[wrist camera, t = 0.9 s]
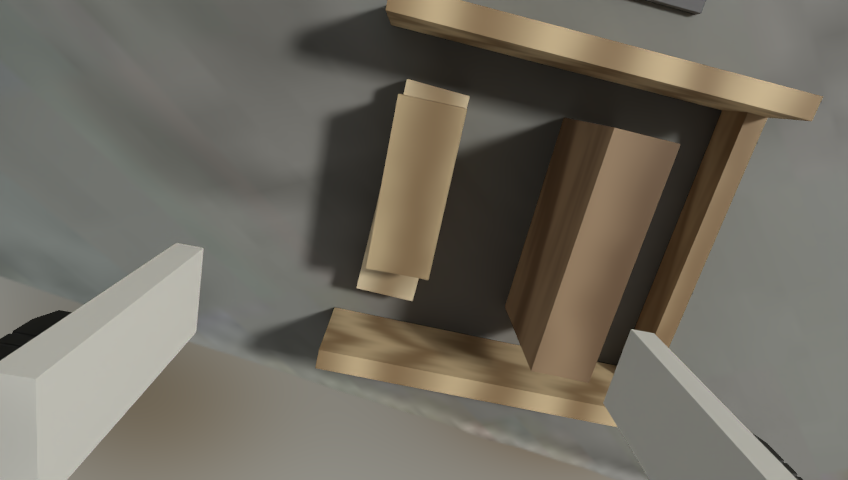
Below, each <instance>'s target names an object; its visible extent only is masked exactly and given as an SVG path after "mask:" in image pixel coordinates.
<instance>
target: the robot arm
mask: <svg viewBox="0 0 848 480" xmlns="http://www.w3.org/2000/svg"><path fill="white" fill-rule="evenodd" d="M202 260H203V248H201V247H196V246H190V245H185V244H180V243H176V244H174V245H173V246H171V247H170V248H168V249H167V250H165V251H164V252H162V253H161V254H159V255H158V256H156V257H155V258H153V259H152V260H150V261H149V262H147V263H146V264H144V265H143V266H141V267H140V268H138V269H137V270H135V271H134V272H132V273H131V274H129V275H128V276H126V277H125V278H123V279H122V280H120V281H119V282H117V283H116V284H114V285H113V286H111V287H110V288H108V289H107V290H105V291H104V292H102V293H101V294H99V295H98V296H96V297H95V298H93V299H92V300H90V301H89V302H87V303H86V304H84V305H83V306H81V307H80V308H78V309H77V310H75V311H74V312H66V311H60V310H58V311H55V312H52V313H50V314H47V315H43V316H40V317H37V318H35V319H32V320H30V321H29V322H27V323H25V324H24V325H22V326H21V327H19V328H17V329H16V330H14V331H13V333H12V334H8V335H6V336H4V337H3V338H1V339H0V480H67V479H68V478H69V477H70V476H71V474H72V473H73V472H74V471H75V470H76V469H77V468H78V467H79V465H80V464H81V463H82V462H83V461H84V460H85V458H86V457H87V456H88V455H89V454H90V453H91V452H92V451H93V449H94V448H95V447H96V446H97V445H98V444H99V443H100V441H101V440H102V439H103V438H104V437H105V436H106V435H107V433H108V432H109V431H110V430H111V429H112V428H113V426H114V425H115V424H116V423H117V422H118V421H119V420H120V419H121V417H122V416H123V415H124V414H125V413H126V412H127V410H128V409H129V408H130V407H131V406H132V405H133V404H134V403H135V401H136V400H137V399H138V398H139V397H140V396H141V395H142V393H143V392H144V391H145V390H146V389H147V388H148V387H149V385H150V384H151V383H152V382H153V381H154V380H155V378H156V377H157V376H158V375H159V374H160V372H162V371H163V369H164V368H165V367H166V366H167V365H168V363H169V362H170V361H171V360H172V359H173V358H174V357H175V356H176V354H177V353H178V352H179V351H180V350H181V349H182V347H183V346H184V345H185V344H186V343H187V342H188V341H189V340H190V339H191V337H192V336H193V335H194V334H195V333H196V329H197V317H198V306H199V294H200V283H201V271H202ZM603 404H604V405H605V407H606V409H607V410H608V412H609V414H610V415H611V417H612V419H613V420H614V422H615V424H616V425H617V427H618V429H619V430H620V432H621V434H622V435H623V437H624V438H625V440H626V442H627V443H628V445H629V447H630V448H631V450H632V452H633V453H634V455H635V457H636V458H637V460H638V462H639V463H640V465H641V467H642V468H643V470H644V472H645V473H646V475H647V477H648V478H649V480H803V479H802V478H801V477H797V473H796V472H795V471H794V470H793V469H792V468H791V467H790V466H789V465H788V464H787V463H784V460H783V459H782V458H781V457H780V456H779V455H778V454H777V453H776V452H775V451H774V450H773V449H772V448H771V447H770V446H769V445H768V444H767V443H766V442H764V441H763V440H761V439H760V438H759V437H757V436H756V435H754V434H753V433H752V432H750V431H749V430H748V429H747V428H746V427H745V426H744V425H743V424H742V423H741V422H740V421H739V420H738V419H737V418H736V417H735V415H734V414H733V413H732V412H731V411H730V410H729V409H728V408H727V407H726V406H725V405H724V404H723V403H722V402H721V401H720V400H719V399H718V398H717V397H716V396H715V395H714V394H713V393H712V392H711V391H710V390H709V389H708V388H707V387H706V386H705V385H704V384H703V383H702V382H701V381H700V380H699V379H698V378H697V377H696V376H695V375H694V374H693V373H692V372H691V371H690V370H689V368H688V367H687V366H686V365H685V364H684V363H683V362H682V361H681V360H680V359H679V358H678V357H677V356H676V355H675V354H674V353H673V352H672V351H671V350H670V349H669V348H668V347H667V346H666V345H665V344H664V343H663V342H662V341H661V340H660V339H659V338H658V337H657V336H656V335H655V334H654V333H650V332H645V331H639V330H634V329H631V330H630V333H629V336H628V338H627V341H626V344H625V346H624V349H623V351H622V354H621V357H620V359H619V362H618V365H617V367H616V370H615V373H614V375H613V378H612V381H611V383H610V386H609V389H608V391H607V394H606V397H605V399H604V402H603Z"/></svg>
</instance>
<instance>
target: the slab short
mask: <svg viewBox="0 0 848 480" xmlns="http://www.w3.org/2000/svg"><path fill="white" fill-rule="evenodd" d="M466 112H467V109H466V108H463V107H459V106H454V105H450V104H445V103H440V102H436V101H431V100H427V99H422V98H417V97H413V96H408V95H404V94H398V98H397V103H396V108H395V114H394V119H393V125H392V130H391V135H390V141H389V146H388V152H387V157H386V162H385V168H384V173H383V179H382V184H381V189H380V195H379V200H378V206H377V211H376V216H375V222H374V227H373V233H372V238H371V243H370V249H369V254H368V260H367V265H366V268H367V269H372V270H377V271H383V272H388V273H393V274H399V275H404V276H409V277H415V278H420V279H425V280H429V275H430V271H431V267H432V262H433V258H434V253H435V249H436V245H437V240H438V236H439V231H440V227H441V222H442V218H443V214H444V209H445V205H446V200H447V196H448V192H449V187H450V183H451V178H452V174H453V169H454V165H455V161H456V156H457V152H458V147H459V143H460V139H461V134H462V130H463V125H464V121H465V116H466Z"/></svg>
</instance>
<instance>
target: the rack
mask: <svg viewBox="0 0 848 480" xmlns="http://www.w3.org/2000/svg"><path fill="white" fill-rule="evenodd" d="M386 12H387V15H388V18H389V20H390V23H391V25H393V26H397V27H401V28H405V29H409V30H412V31H416V32H420V33H424V34H428V35H432V36H436V37H440V38H443V39H447V40H451V41H455V42H459V43H463V44H467V45H471V46H474V47H478V48H482V49H486V50H490V51H494V52H498V53H502V54H505V55H509V56H513V57H517V58H521V59H525V60H529V61H533V62H536V63H540V64H544V65H548V66H552V67H556V68H560V69H564V70H567V71H571V72H575V73H579V74H583V75H587V76H591V77H595V78H598V79H602V80H606V81H610V82H614V83H618V84H622V85H626V86H629V87H633V88H637V89H641V90H645V91H649V92H653V93H657V94H660V95H664V96H668V97H672V98H676V99H680V100H684V101H688V102H691V103H695V104H699V105H703V106H707V107H711V108H715V109H719V110H722V112H721V115H720V117H719V120H718V122H717V125H716V127H715V130H714V132H713V135H712V137H711V140H710V142H709V145H708V147H707V150H706V152H705V155H704V157H703V160H702V162H701V164H700V167H699V169H698V172H697V174H696V177H695V179H694V182H693V184H692V187H691V189H690V192H689V194H688V197H687V199H686V202H685V204H684V207H683V209H682V212H681V214H680V217H679V219H678V222H677V224H676V227H675V229H674V232H673V234H672V237H671V239H670V242H669V244H668V247H667V249H666V252H665V254H664V257H663V259H662V262H661V264H660V267H659V269H658V272H657V274H656V277H655V279H654V282H653V284H652V287H651V289H650V291H649V294H648V296H647V299H646V301H645V304H644V306H643V309H642V311H641V314H640V316H639V319H638V321H637V324H636V326H635V329H634V330H639V331H645V332H650V333H654V334H655V335H656V336H657V337H658V338H659V339H660V340H661V341H662V342H663V343H664V344H665V345H666V346H667V347H668V348H669V346H670V344H671V341H672V339H673V337H674V334H675V332H676V330H677V327H678V325H679V323H680V320H681V318H682V316H683V313H684V311H685V309H686V306H687V304H688V302H689V299H690V297H691V295H692V292H693V290H694V288H695V285H696V283H697V281H698V278H699V276H700V274H701V272H702V269H703V267H704V265H705V262H706V260H707V258H708V255H709V253H710V251H711V248H712V246H713V244H714V241H715V239H716V237H717V234H718V232H719V230H720V227H721V225H722V223H723V220H724V218H725V216H726V213H727V211H728V209H729V206H730V204H731V202H732V199H733V197H734V195H735V192H736V190H737V188H738V185H739V183H740V181H741V178H742V176H743V174H744V171H745V169H746V167H747V164H748V162H749V160H750V157H751V155H752V153H753V150H754V148H755V146H756V143H757V141H758V139H759V136H760V134H761V132H762V129H763V127H764V125H765V123H766V120H767V118H780V119H792V120H804V121H812V120H813V118H814V115H815V113H816V111H817V109H818V107H819V105H820V102H821V100H822V98H823V96H819V95H815V94H811V93H808V92H804V91H800V90H796V89H792V88H789V87H785V86H781V85H777V84H774V83H770V82H766V81H762V80H759V79H755V78H751V77H747V76H744V75H740V74H736V73H732V72H729V71H725V70H721V69H717V68H713V67H710V66H706V65H702V64H698V63H695V62H691V61H687V60H683V59H680V58H676V57H672V56H668V55H665V54H661V53H657V52H653V51H649V50H646V49H642V48H638V47H634V46H631V45H627V44H623V43H619V42H616V41H612V40H608V39H604V38H601V37H597V36H593V35H589V34H585V33H582V32H578V31H574V30H570V29H567V28H563V27H559V26H555V25H552V24H548V23H544V22H540V21H537V20H533V19H529V18H525V17H521V16H518V15H514V14H510V13H506V12H503V11H499V10H495V9H491V8H488V7H484V6H480V5H476V4H473V3H469V2H465V1H461V0H387V5H386ZM616 367H617V366H616V365H611V364H606V363H601V362H597V363H596V366H595V368H594V371H593V373H592V376H591V379H590V381H589V383H587V382H582V381H577V380H572V379H567V378H562V377H557V376H552V375H547V374H542V373H537V372H533V371H531V370H530V367H529V365H528V363H527V360H526V358H525V355H524V353H523V350H522V348H521V346H519V345H514V344H509V343H504V342H500V341H495V340H490V339H485V338H480V337H475V336H471V335H466V334H461V333H456V332H451V331H446V330H442V329H437V328H432V327H427V326H422V325H417V324H413V323H408V322H403V321H398V320H393V319H388V318H384V317H379V316H374V315H369V314H364V313H359V312H354V311H350V310H345V309H340V308H334V310H333V313H332V316H331V319H330V321H329V324H328V327H327V329H326V332H325V335H324V338H323V340H322V343H321V346H320V348H319V352H318V357H317V362H316V368H318V369H323V370H328V371H333V372H338V373H343V374H348V375H353V376H358V377H364V378H369V379H374V380H379V381H384V382H389V383H394V384H399V385H405V386H410V387H415V388H420V389H425V390H430V391H435V392H440V393H445V394H451V395H456V396H461V397H466V398H471V399H476V400H481V401H486V402H491V403H497V404H502V405H507V406H512V407H517V408H522V409H527V410H532V411H538V412H543V413H548V414H553V415H558V416H563V417H568V418H573V419H578V420H584V421H589V422H594V423H599V424H604V425H609V426H614V427H617V425H616V424H615V422H614V420H613V419H612V417H611V415H610V414H609V412H608V410H607V409H606V407H605V405H604V404H603V402H604V399H605V397H606V394H607V391H608V389H609V386H610V383H611V381H612V378H613V375H614V373H615V370H616Z"/></svg>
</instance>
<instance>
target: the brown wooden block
mask: <svg viewBox="0 0 848 480" xmlns="http://www.w3.org/2000/svg"><path fill="white" fill-rule="evenodd" d="M680 145H681V144H678V143H674V142H670V141H666V140H662V139H658V138H654V137H650V136H646V135H642V134H638V133H634V132H630V131H626V130H622V129H618V128H614V127H609V126H604V125H599V124H594V123H589V122H584V121H579V120H574V119H569V118H564V119H563V122H562V125H561V128H560V131H559V135H558V138H557V141H556V144H555V147H554V151H553V154H552V157H551V160H550V164H549V167H548V170H547V173H546V176H545V180H544V183H543V186H542V189H541V192H540V196H539V199H538V202H537V205H536V208H535V212H534V215H533V218H532V221H531V225H530V228H529V231H528V234H527V237H526V241H525V244H524V247H523V250H522V253H521V257H520V260H519V263H518V266H517V269H516V273H515V276H514V279H513V282H512V285H511V289H510V292H509V295H508V298H507V302H506V305H505V308H506V311H507V313H508V316H509V318H510V321H511V323H512V325H513V328H514V330H515V333H516V335H517V338H518V340H519V343H520V345H521V348H522V350H523V353H524V355H525V358H526V360H527V363H528V365H529V367H530V370H531V371H533V372H537V373H542V374H547V375H552V376H557V377H562V378H567V379H572V380H577V381H582V382H587V383H589V381H590V379H591V376H592V373H593V371H594V368H595V366H596V363H597V360H598V358H599V355H600V353H601V350H602V347H603V345H604V342H605V340H606V337H607V334H608V332H609V329H610V327H611V324H612V322H613V319H614V316H615V314H616V311H617V309H618V306H619V303H620V301H621V298H622V296H623V293H624V290H625V288H626V285H627V283H628V280H629V277H630V275H631V272H632V270H633V267H634V264H635V262H636V259H637V257H638V254H639V251H640V249H641V246H642V244H643V241H644V238H645V236H646V233H647V231H648V228H649V225H650V223H651V220H652V218H653V215H654V213H655V210H656V207H657V205H658V202H659V200H660V197H661V194H662V192H663V189H664V187H665V184H666V181H667V179H668V176H669V174H670V171H671V168H672V166H673V163H674V161H675V158H676V155H677V153H678V150H679V148H680Z"/></svg>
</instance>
